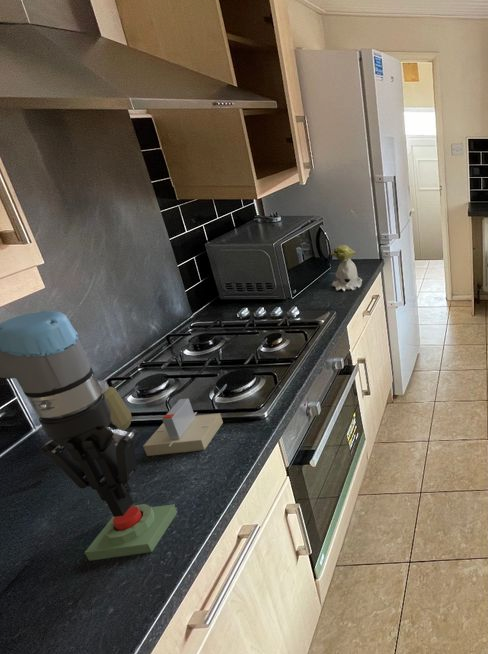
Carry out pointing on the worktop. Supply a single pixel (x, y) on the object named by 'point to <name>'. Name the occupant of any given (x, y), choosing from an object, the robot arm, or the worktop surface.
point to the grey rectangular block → (179, 419)
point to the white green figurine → (346, 269)
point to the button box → (133, 534)
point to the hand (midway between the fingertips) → (123, 509)
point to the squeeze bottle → (116, 406)
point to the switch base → (185, 436)
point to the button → (127, 519)
